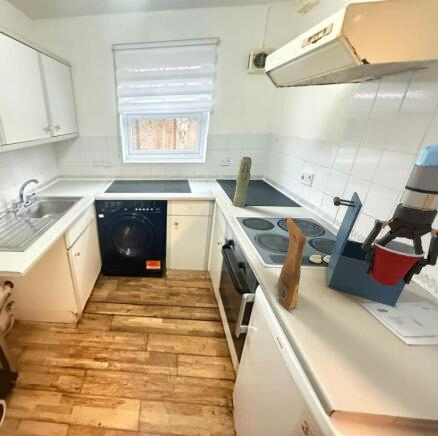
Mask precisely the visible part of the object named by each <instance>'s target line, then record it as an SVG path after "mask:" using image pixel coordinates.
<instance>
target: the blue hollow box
mask: <svg viewBox="0 0 438 436" xmlns="http://www.w3.org/2000/svg"><path fill="white" fill-rule="evenodd" d="M363 243H364V242H360V241H356V240H351V239H348V240H347V242H346V245H345V247H344V249H343V252H342V254H341V255H338V247H337V238H336V240H335V242H334V245H333V248H332V251H331V254H330V257H329V260H328V263H327V266H326V267H327V287H328V288H331V289H334V290H338V291H341V292H344V293H347V294H350V295H354V296H357V297H361V298H363V299H368V300H370V301H373V302H377V303H379V304H380V303H381V304H384V305H387V306H389V307H392V308H394V307H395V306H396V304H397V302H398V300H399V299H400V296H401V294H402V292H403V291H404V288H405V287H406V285H407V284H405V282H404V280H403V277H402V279H401V280H400V281H399V282H398V284H396V285H394V286H388V285H384V284H381V283H379V282H377V281H375V280H374V279H372V277H371V272H370V274H366V271H365V269H366V266H367V264H368V263H366V262H365V257H366V255H367V252H366V251H363V250H362V247H361V246H362V244H363ZM372 245H373V244H371V246H372ZM371 246H370V247H371ZM371 271H372V270H371Z"/></svg>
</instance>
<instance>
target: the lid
mask: <svg viewBox="0 0 438 436" xmlns="http://www.w3.org/2000/svg"><path fill="white" fill-rule="evenodd" d="M332 200H333V205H334V206H335V207H339V206H345V207H347V209H346V211H345V213H344V216H343V219H342V221H341V223H340V226H339V228H338V231H337V233H336V236H335V237H336V239H337V247H338V255H341V254H342V252H343V249H344V247H345V245H346V242H347V240H349V237H350V235H351V233H352V232H353V228H354V226H355V224H356V221H357V219H358V217H359V215H360V212H361V210H362V207H363V202H362V201H361V199H360V196H359V194H358V192H356V191H354V192H353V194H352V196H351V199H350V200H348V199H344V198H343V199H342V198H340V197H339V196H334V197H333V199H332Z"/></svg>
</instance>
